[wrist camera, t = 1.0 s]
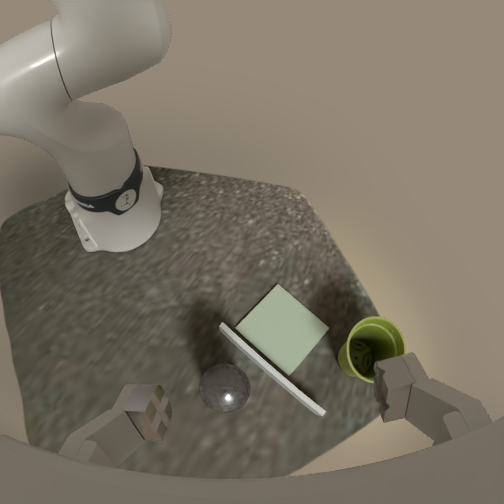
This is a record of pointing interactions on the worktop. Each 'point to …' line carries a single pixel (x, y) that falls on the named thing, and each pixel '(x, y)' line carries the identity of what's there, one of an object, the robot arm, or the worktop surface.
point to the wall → (270, 370)
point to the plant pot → (370, 347)
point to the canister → (224, 388)
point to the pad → (282, 329)
